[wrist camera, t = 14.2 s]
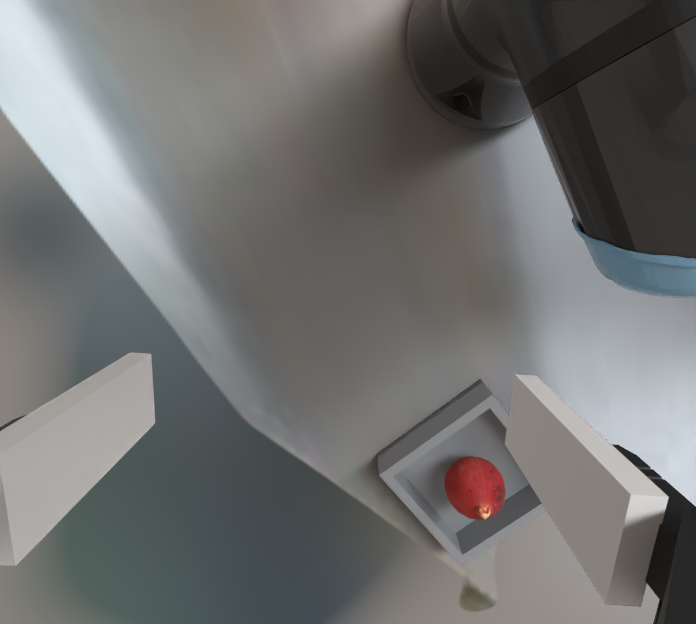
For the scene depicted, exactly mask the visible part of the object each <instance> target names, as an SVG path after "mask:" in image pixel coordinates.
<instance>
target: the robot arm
mask: <svg viewBox="0 0 696 624" xmlns="http://www.w3.org/2000/svg"><path fill="white" fill-rule="evenodd" d="M406 49H407V58H408V63H409V67H410V71H411V74H412V77H413V79H414V82H415V84H416V86H417V88H418V89H419V91H420V93H421V94H422V96H423V97H424V99H425V100H426V101H427V102H428V104H429V105H430V106H431V107H432V108H433V109H434V110H436V111H437V112H438V113H439V114H440V115H442V116H443V117H445V118H446V119H448V120H450V121H452V122H454V123H456V124H459V125H461V126H465V127H468V128H474V129H497V128H502V127H506V126H510V125H513V124H515V123H518V122H520V121H522V120H524V119H526V118H527V117H529V116H531V115H533V116H534V119H535V121H536V124H537V126H538V129H539V131H540V134H541V136H542V139H543V141H544V144H545V147H546V149H547V152H548V154H549V157H550V159H551V162H552V164H553V167H554V169H555V172H556V174H557V177H558V179H559V182H560V184H561V187H562V190H563V192H564V195H565V197H566V200H567V202H568V205H569V207H570V210H571V212H572V215H573V218H572V223H573V225H574V228H575V230H576V231H577V233H578V234H579V235H580V236H581V237H582V238H583V239H584V241H585V243H586V245H587V247H588V250H589V252H590V254H591V256H592V258H593V260H594V263H595V265H596V266H597V268H598V269H599V271H600V272H601V273H602V274H603V275H604V276H605V277H607V278H609V279H611V280H613V281H614V282H615V283H617V284H618V285H619V286H621V287H623V288H626V289H629V290H632V291H636V292H639V293H644V294H649V295H655V296H663V297H678V298H696V0H414V1H413V4H412V8H411V12H410V16H409V20H408V25H407V34H406ZM154 424H155V411H154V393H153V376H152V359H151V354H147V353H129V354H127V355H125V356H124V357H122V358H120V359H119V360H117V361H115V362H114V363H112V364H110V365H109V366H107V367H105V368H104V369H102V370H101V371H99V372H97V373H96V374H94V375H92V376H91V377H89V378H87V379H86V380H84V381H82V382H81V383H79V384H77V385H76V386H74V387H72V388H71V389H69V390H67V391H66V392H64V393H62V394H61V395H59V396H58V397H56V398H54V399H53V400H51V401H49V402H48V403H46V404H44V405H43V406H41V407H39V408H38V409H36V410H35V411H33V412H31V413H29V414H27V415H25V416H22V417H19V418H17V419H14V420H12V421H10V422H9V423H7V424H5V425H4V426H2V427H0V565H5V566H16V565H17V564H18V563H19V562H20V561H21V560H22V559H23V558H24V557H25V556H26V555H27V554H28V553H29V552H30V551H31V550H32V549H33V548H34V547H35V546H36V545H37V544H38V543H39V542H40V541H41V540H42V539H43V537H44V536H46V535H47V533H48V532H49V531H50V530H51V529H52V528H53V527H54V526H55V525H56V524H57V523H58V522H59V521H60V520H61V519H62V518H63V517H64V516H65V515H66V514H67V513H68V512H69V511H70V510H71V509H72V508H73V507H74V506H75V505H76V504H77V503H78V502H79V501H80V500H81V499H82V498H83V497H84V496H85V494H87V493H88V491H89V490H90V489H91V488H92V487H93V486H94V485H95V484H96V483H97V482H98V481H99V480H100V479H101V478H102V477H103V476H104V475H105V474H106V473H107V472H108V471H109V470H110V469H111V468H112V467H113V466H114V465H115V464H116V463H117V462H118V461H119V460H120V459H121V458H122V457H123V456H124V455H125V454H126V453H127V452H128V450H129V449H130V448H131V447H132V446H133V445H134V444H135V443H136V442H137V441H138V440H139V439H140V438H141V437H142V436H143V435H144V434H145V433H146V432H147V431H148V430H149V429H150V428H151V427H152V426H153V425H154ZM505 445H506V447H507V449H508V450H509V452H510V453H511V455H512V457H513V458H514V460H515V461H516V463H517V465H518V466H519V468H520V469H521V471H522V472H523V474H524V476H525V477H526V479H527V480H528V482H529V484H530V485H531V487H532V488H533V490H534V492H535V493H536V495H537V496H538V498H539V499H540V501H541V503H542V504H543V506H544V507H545V509H546V511H547V512H548V514H549V515H550V517H551V519H552V520H553V522H554V523H555V525H556V526H557V528H558V530H559V531H560V533H561V534H562V536H563V538H564V539H565V541H566V542H567V544H568V546H569V547H570V549H571V550H572V552H573V553H574V555H575V557H576V558H577V560H578V561H579V563H580V565H581V566H582V568H583V569H584V571H585V573H586V574H587V576H588V577H589V579H590V581H591V582H592V584H593V585H594V587H595V588H596V590H597V592H598V593H599V595H600V596H601V598H602V600H603V601H604V603H605V604H607V605H623V606H639V607H641V604H642V600H643V595H644V592H645V588H646V584H648V585H649V586H650V587H651V589H652V590H653V591H654V593H655V594H656V595H657V596H658V598H659V599H660V601H659V604H658V608H657V612H656V616H655V619H654V623H653V624H696V507H695V506H694V505H693V504H692V503H691V502H690V501H688V500H687V499H686V498H685V497H684V496H683V495H682V494H680V493H679V492H678V491H677V490H676V489H675V488H674V487H672V486H671V485H670V484H669V483H668V482H667V481H665V480H663V479H662V477H661V476H660V475H659V474H657V473H656V472H655V471H654V470H652V469H650V467H649V466H648V465H647V464H646V463H645V462H644V461H643V460H641V459H640V458H639V457H638V456H637V455H635V454H633V453H631V452H630V451H628V450H626V449H624V448H623V447H621V446H619V445H612V444H610V443H609V442H608V441H607V440H606V439H605V438H604V437H603V436H602V435H601V434H600V433H598V432H597V431H596V430H595V429H594V428H593V427H592V426H591V425H590V424H589V423H588V422H586V421H585V420H584V419H583V418H582V417H581V416H580V415H579V414H578V413H577V412H576V411H574V410H573V409H572V408H571V407H570V406H569V405H568V404H567V403H566V402H565V401H564V400H562V399H561V398H560V397H559V396H558V395H557V394H556V393H555V392H554V391H553V390H552V389H550V388H549V387H548V386H547V385H546V384H545V383H544V382H543V381H542V380H541V379H539V378H538V377H537V376H534V375H516V374H515V377H514V384H513V390H512V397H511V404H510V410H509V417H508V424H507V431H506V437H505Z"/></svg>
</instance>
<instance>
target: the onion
mask: <svg viewBox="0 0 696 624" xmlns="http://www.w3.org/2000/svg"><path fill="white" fill-rule="evenodd" d="M444 485H445V490H446V494H447V498H448V500H449V501H450V503H451V504H452V505H453V507H454V508H455V509H456V510H457V511H458V512H459V513H461V514H462V515H464V516H466V517H468V518H470V519H475V520H485V519H489V518H490V517H492V516H494V515H495V514H497V512H498V511H499V510H500V509H501V508H502V506H503V503H504V499H505V495H506V490H505V485H504V480H503V477H502V474H501V473H500V472H499V471H498V469H497V468H496V467H495V466H494V465H493V464H492V463H491V462H490V461H488V460H486V459H483V458H481V457H472V456H467V457H463V458H459V459H458V460H456V461H455V462H453V463H452V465H451V466H450V468H449V469H448V470H447V472H446V475H445V481H444Z"/></svg>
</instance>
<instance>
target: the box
mask: <svg viewBox="0 0 696 624" xmlns="http://www.w3.org/2000/svg"><path fill="white" fill-rule="evenodd" d="M508 417H509V414H508V413H507V412H506V410H505V409H504V408H503V407H502V405H501V404H500V403H499V402H498V400H497V399H496V398H495V397H494V395H493V394H492V393H491V392H490V390H489V389H488V388H487V387H486V385H485V384H484V383H483V382H482V380H481V379H480V380H478V381H477V382H476V383H474V384H473V385H471V386H470V387H469V388H467V389H466V390H465V391H463V392H462V393H460V394H459V395H458V396H456V397H455V398H454V399H452V400H451V401H449V402H448V403H447V404H445V405H444V406H442V407H441V408H440V409H438V410H437V411H436V412H434V413H433V414H431V415H430V416H429V417H427V418H426V419H424V420H423V421H422V422H420V423H419V424H418V425H416V426H415V427H413V428H412V429H411V430H409V431H408V432H407V433H405V434H404V435H402V436H401V437H400V438H398V439H397V440H395V441H394V442H393V443H391V444H390V445H389V446H387V447H386V448H384V449H383V450H382V451H380V452H379V453H377V459H378V470H379V476H380V477H381V478H382V479H383V480H384V482H385V483H386V484H387V485H388V486H389V487H390V488H391V489H392V490H393V492H394V493H395V494H396V495H397V496H398V497H399V498H400V499H401V500H402V502H403V503H404V504H405V505H406V506H407V507H408V508H409V509H410V510H411V512H412V513H413V514H414V515H415V516H416V517H417V518H418V519H419V520H420V522H421V523H422V524H423V525H424V526H425V527H426V528H427V529H428V530H429V532H430V533H431V534H432V535H433V536H434V537H435V538H436V539H437V540H438V542H439V543H440V544H441V545H442V546H443V547H444V548H445V549H446V550H447V552H448V553H449V554H450V555H451V556H452V557H453V558H454V559H455V560H456V562H457V563H458V564H459V565H460V566H461V565H463V564H465V563H466V562H468V561H469V560H471V559H472V558H474V557H475V556H477V555H478V554H480V553H482V552H483V551H485V550H486V549H488V548H489V547H491V546H492V545H494V544H495V543H497V542H499V541H500V540H502V539H503V538H505V537H506V536H508V535H509V534H511V533H512V532H514V531H516V530H517V529H519V528H520V527H522V526H523V525H525V524H526V523H528V522H530V521H531V520H532V519H534V518H536V517H537V516H539V515H540V514H542V513H543V512H545V511H546V509H545V507H544V506H543V504H542V503H541V501H540V499H539V498H538V496H537V495H536V493H535V492H534V490H533V488H532V487H531V485H530V484H529V482H528V480H527V479H526V477H525V476H524V474H523V472H522V471H521V469H520V468H519V466H518V465H517V463H516V461H515V460H514V458H513V457H512V455H511V453H510V452H509V450H508V449H507V447H506V445H505V437H506V431H507V424H508ZM467 456H472V457H481V458H483V459H486V460H488V461H490V462H491V463H492V464H493V465H494V466H495V467H496V468H497V469H498V471H499V472H500V473H501V474H502V477H503V480H504V485H505V490H506V495H505V499H504V503H503V506H502V508H501V509H500V510H499V511H498V512H497V514H495V515H494V516H492V517H490V518H489V519H485V520H475V519H470V518H468V517H466V516H464V515H462V514H461V513H459V512H458V511H457V510H456V509H455V508H454V507H453V505H452V504H451V503H450V501H449V500H448V498H447V494H446V490H445V485H444V481H445V475H446V472H447V470H448V469H449V468H450V466H451V465H452V463H453V462H455V461H456V460H458V459H459V458H463V457H467Z"/></svg>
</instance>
